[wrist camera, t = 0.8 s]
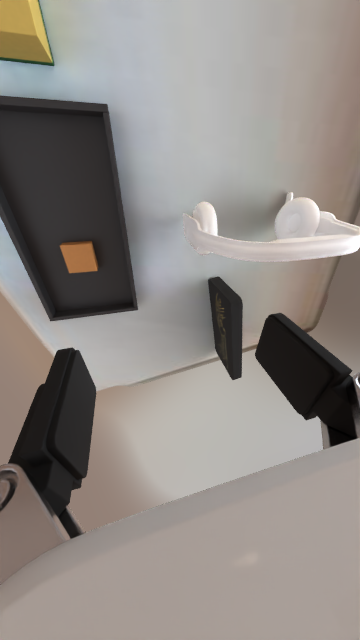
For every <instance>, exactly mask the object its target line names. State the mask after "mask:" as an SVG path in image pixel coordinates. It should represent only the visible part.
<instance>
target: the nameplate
mask: <svg viewBox="0 0 360 640" xmlns="http://www.w3.org/2000/svg"><path fill="white" fill-rule="evenodd" d="M208 284H209V294H210V303H211V312H212V322H213V331H214V340H215V349H216V352H217V354H218V356H219V357H220V359H221V361H222V363H223V365H224V366H225V368H226V370H227V371H228V373H229V375H230V377H231V378H232V380H235V379H238V378H241V374H242V309H243V304H242V300H241V298H240V296H239V295H238V294H236V293H235V292H234V291H233V290H232V289H231V288H230V287H229V286H228V285H227V284H226V283H225V282H224V281H223V280H222V279H221V278H220V277H215V278H212V279H209V280H208Z"/></svg>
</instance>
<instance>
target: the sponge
mask: <svg viewBox="0 0 360 640" xmlns="http://www.w3.org/2000/svg"><path fill="white" fill-rule="evenodd" d="M0 60H6V61H15V62H24V63H33V64H41V65H50V66H54V62H53V58H52V54H51V50H50V46H49V41H48V37H47V33H46V29H45V25H44V20H43V16H42V12H41V8H40V4H39V0H0Z"/></svg>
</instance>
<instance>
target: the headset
mask: <svg viewBox="0 0 360 640" xmlns="http://www.w3.org/2000/svg"><path fill="white" fill-rule="evenodd" d="M183 227H184V236H185V238H186V239H187V241H188V242H189V243H190V244H191V246H192V247H193V248H194V249H195V250H196V252H197V253H198V254H200V255H207V254H209V253H211V252H213V253H215V254H218V255H222V256H225V257H229V258H234V259H239V260H246V261H256V262H282V261H296V260H306V259H315V258H324V257H332V256H339V255H344V254H349V253H352V252H355V251H357V250H358V248H359V247H360V227H358V226H355V225H352V224H349V223H345V222H342V221H339V220H337V219H336V218H335V216H334V215H333V214H332V213H329V212H324V211H319V209H318V206H317V205H316V204H315V202H314V201H312V200H311V199H309V198H304V197H300V198H295V199H293V193H292V192H289V193H288V194H287V197H286V202H285V205H284V206H283V207H282V208H281V209H280V211H279V213H278V214H277V217H276V220H275V233H276V236H277V238H278V240H274V241H271V242H250V241H241V240H235V239H229V238H225V237H220V236H217V217H216V213H215V210H214V208H213V206H212V205H211V204H210V203H208V202H201V203H199V204H197V205H196V207H195V209H194V211H193V216H192V217H191V216H189V215H187V214H186V213H183Z"/></svg>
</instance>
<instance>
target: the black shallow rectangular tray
mask: <svg viewBox="0 0 360 640" xmlns="http://www.w3.org/2000/svg"><path fill="white" fill-rule="evenodd" d="M0 217H1V219H2V221H3V223H4V225H5V227H6V229H7V231H8V233H9V235H10V238H11V240H12V242H13V244H14V246H15V248H16V250H17V252H18V254H19V256H20V258H21V260H22V263H23V265H24V267H25V269H26V271H27V273H28V275H29V277H30V279H31V281H32V283H33V286H34V288H35V290H36V292H37V294H38V296H39V298H40V300H41V302H42V304H43V306H44V308H45V311H46V313H47V315H48V317H49V319H50V321H56V320H64V319H72V318H79V317H87V316H95V315H103V314H110V313H118V312H126V311H134V310H138V307H137V300H136V293H135V286H134V280H133V273H132V266H131V259H130V253H129V246H128V239H127V232H126V226H125V219H124V212H123V205H122V199H121V192H120V185H119V178H118V172H117V165H116V158H115V151H114V145H113V138H112V131H111V125H110V118H109V111H108V105H107V104H98V103H85V102H73V101H60V100H48V99H35V98H23V97H10V96H0ZM85 241H92V243H93V247H94V251H95V255H96V259H97V263H98V271H90V272H78V273H69V271H68V268H67V265H66V262H65V259H64V256H63V253H62V251H61V248H60V245H61V244H62V243H67V242H85Z"/></svg>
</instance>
